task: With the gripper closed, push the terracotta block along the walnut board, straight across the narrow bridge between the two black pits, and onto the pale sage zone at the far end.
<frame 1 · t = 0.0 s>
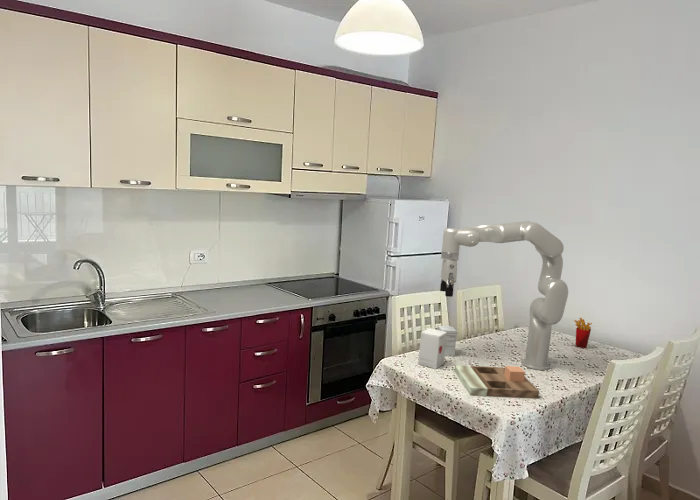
hand: (446, 293, 231), 31 cm above the table, tool pointing down, fingers open, 9 cm apart
terracotta block: (513, 378, 212), point 3 cm above the table, touching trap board
supplement box: (444, 354, 246), on the table
french fries: (578, 346, 273), on the table
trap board: (494, 384, 212), on the table
supplement box 2: (430, 364, 231), on the table
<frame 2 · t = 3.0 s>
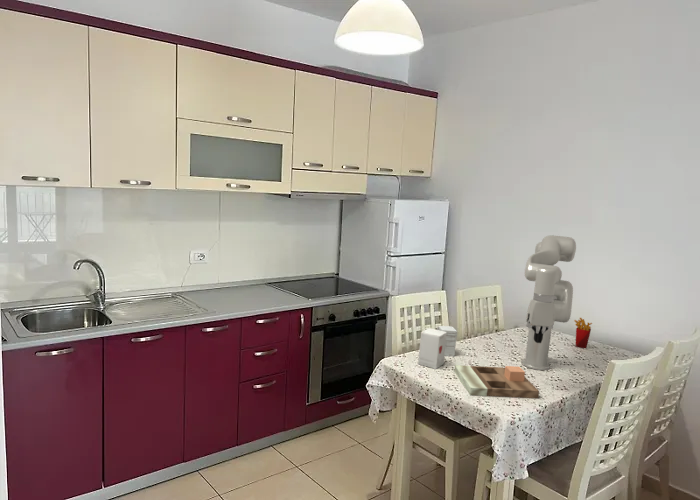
hand: (537, 342, 210), 19 cm above the table, tool pointing down, fingers closed
nothing on the table moved.
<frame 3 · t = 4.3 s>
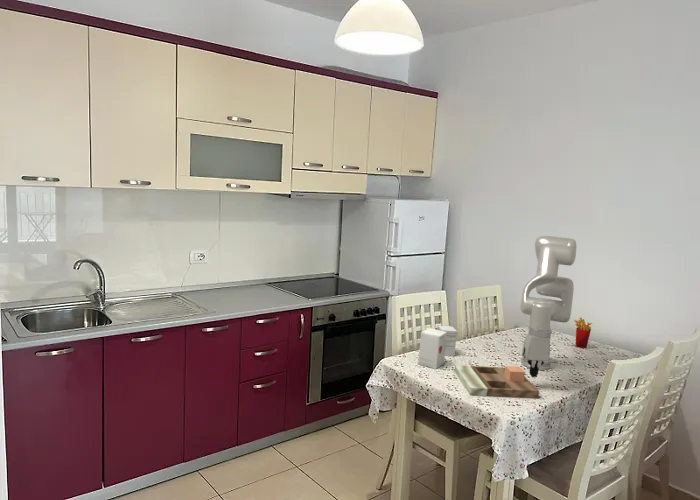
hand: (533, 375, 212), 5 cm above the table, tool pointing down, fingers closed
nothing on the table moved.
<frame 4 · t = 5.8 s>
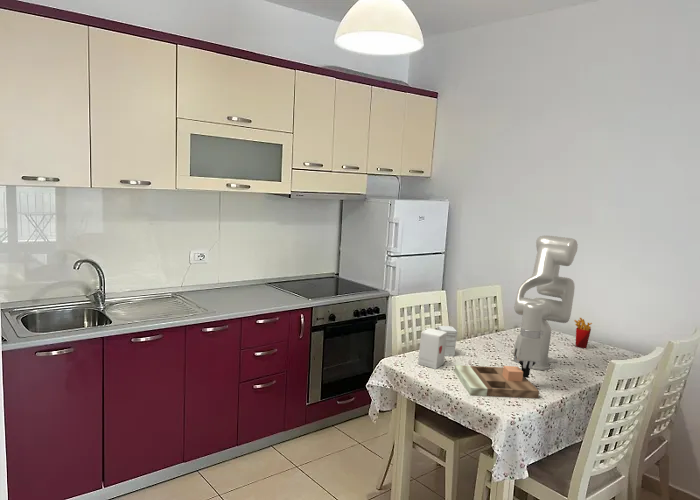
hand: (524, 376, 212), 4 cm above the table, tool pointing down, fingers closed
terracotta block: (512, 378, 212), point 3 cm above the table, touching gripper
everything else where it was.
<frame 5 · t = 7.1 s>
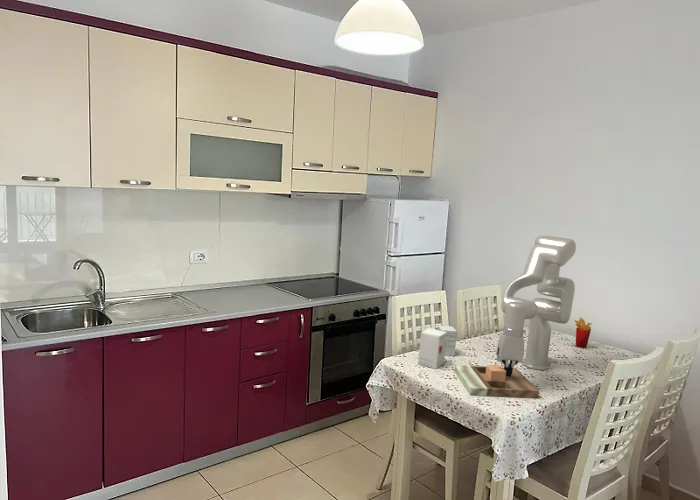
hand: (507, 375, 212), 4 cm above the table, tool pointing down, fingers closed
terracotta block: (495, 377, 212), point 3 cm above the table, touching gripper, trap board
everything else where it was.
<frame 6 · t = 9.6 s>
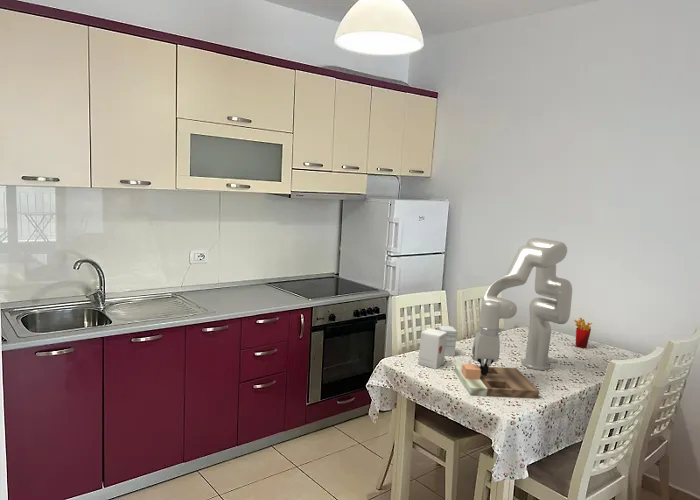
hand: (483, 374, 211), 4 cm above the table, tool pointing down, fingers closed
terracotta block: (470, 376, 211), point 3 cm above the table, touching gripper, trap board
everything else where it was.
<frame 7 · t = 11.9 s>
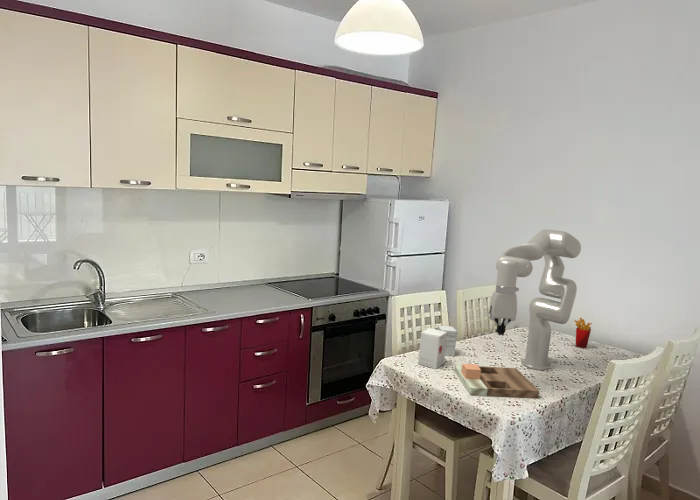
hand: (500, 334, 210), 21 cm above the table, tool pointing down, fingers closed
terracotta block: (470, 376, 211), point 3 cm above the table, touching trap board
everything else where it was.
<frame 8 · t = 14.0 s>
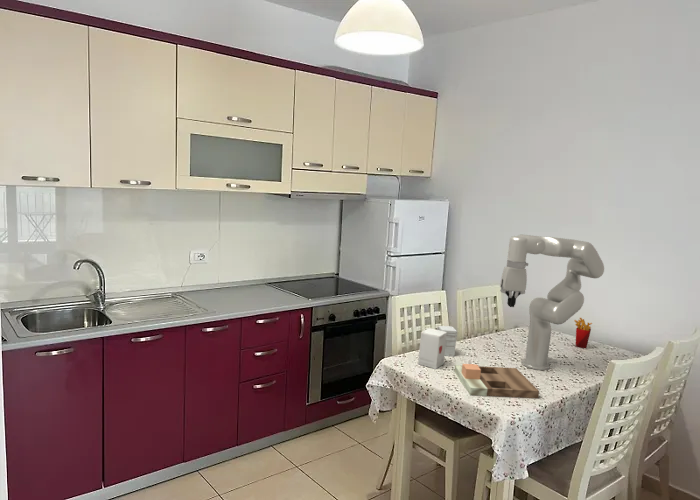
hand: (511, 306, 225), 29 cm above the table, tool pointing down, fingers closed
nothing on the table moved.
at the end: terracotta block 0.6 cm from the target spot on the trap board, point 3.0 cm above the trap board's base; terracotta block tilted 0° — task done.
